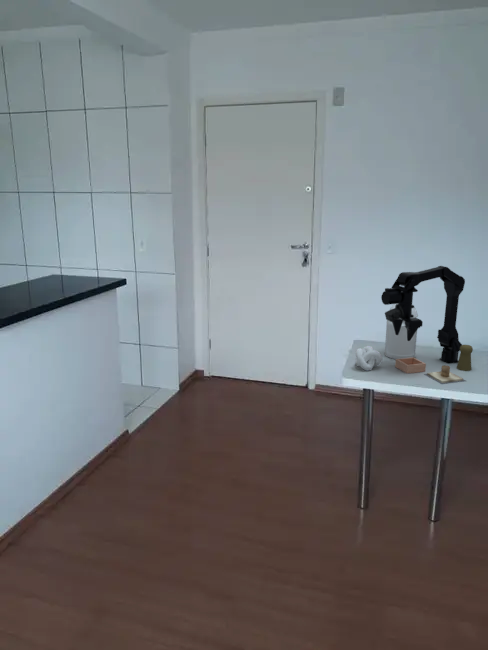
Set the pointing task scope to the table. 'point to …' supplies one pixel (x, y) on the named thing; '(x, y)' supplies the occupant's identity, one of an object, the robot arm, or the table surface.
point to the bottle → (400, 340)
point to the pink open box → (410, 365)
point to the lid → (445, 375)
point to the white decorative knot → (368, 358)
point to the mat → (444, 383)
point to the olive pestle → (465, 358)
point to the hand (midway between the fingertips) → (402, 337)
